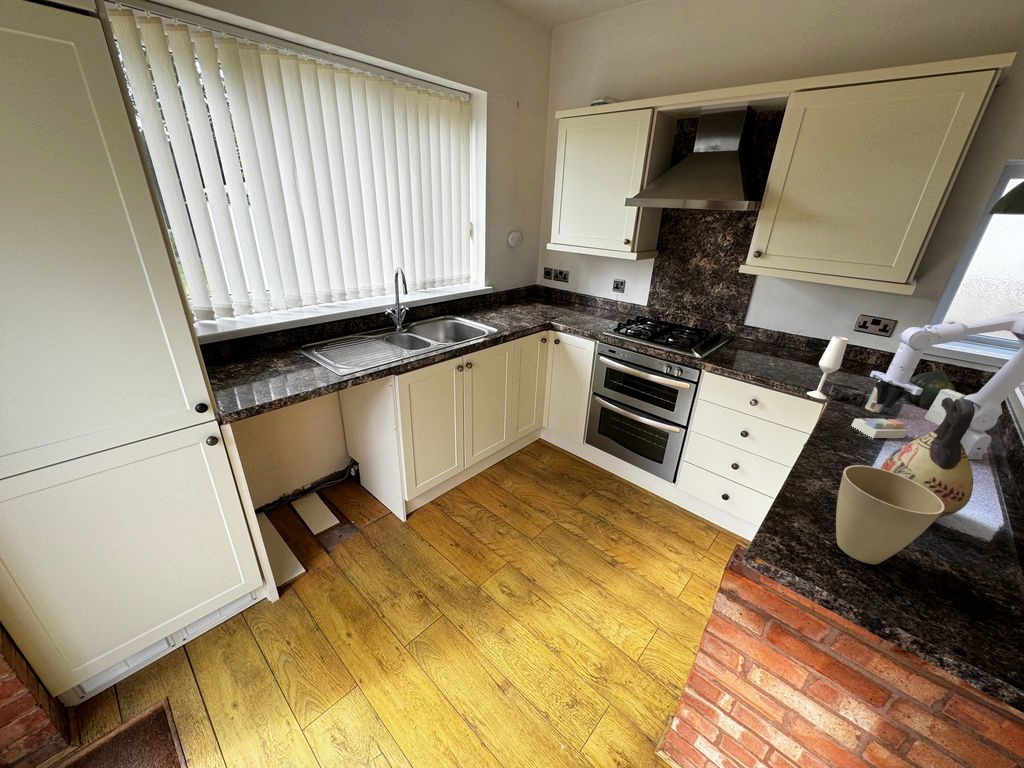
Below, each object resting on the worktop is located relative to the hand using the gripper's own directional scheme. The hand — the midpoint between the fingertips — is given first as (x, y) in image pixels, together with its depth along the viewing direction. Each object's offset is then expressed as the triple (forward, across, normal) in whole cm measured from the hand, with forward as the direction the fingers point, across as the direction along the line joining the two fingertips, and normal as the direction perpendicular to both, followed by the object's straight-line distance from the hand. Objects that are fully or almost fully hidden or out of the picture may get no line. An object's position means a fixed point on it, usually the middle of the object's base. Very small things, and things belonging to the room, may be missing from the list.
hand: (883, 405), depth 132 cm
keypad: (+10, -1, +4) cm, 11 cm away
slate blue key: (+8, 0, 0) cm, 8 cm away
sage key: (+8, 0, +4) cm, 9 cm away
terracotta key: (+8, 0, +8) cm, 11 cm away
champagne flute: (+11, -30, +8) cm, 33 cm away
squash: (+11, -23, +50) cm, 56 cm away
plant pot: (+11, +47, -54) cm, 72 cm away
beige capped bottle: (+11, -17, +20) cm, 28 cm away
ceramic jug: (+11, +36, -29) cm, 47 cm away
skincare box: (+11, -8, +38) cm, 40 cm away
